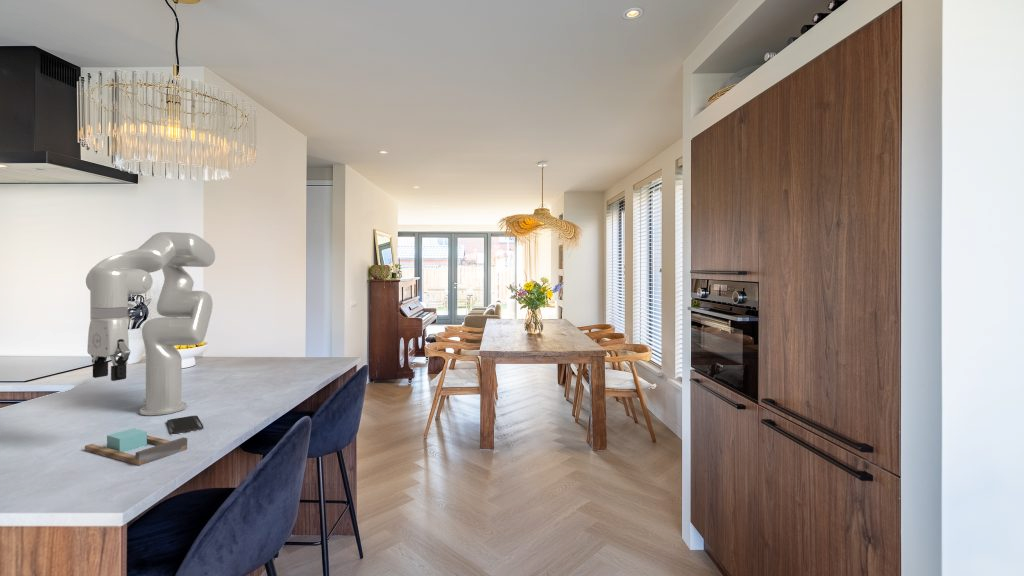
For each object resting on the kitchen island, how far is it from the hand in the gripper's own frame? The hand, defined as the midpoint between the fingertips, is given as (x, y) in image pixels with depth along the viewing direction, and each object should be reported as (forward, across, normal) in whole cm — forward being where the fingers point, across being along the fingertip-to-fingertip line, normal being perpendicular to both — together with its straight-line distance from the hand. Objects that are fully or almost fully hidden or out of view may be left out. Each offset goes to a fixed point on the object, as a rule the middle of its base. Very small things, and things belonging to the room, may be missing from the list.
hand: (109, 377), depth 119 cm
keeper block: (+18, +8, 0) cm, 20 cm away
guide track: (+18, +12, 0) cm, 21 cm away
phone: (+18, +4, +17) cm, 25 cm away
